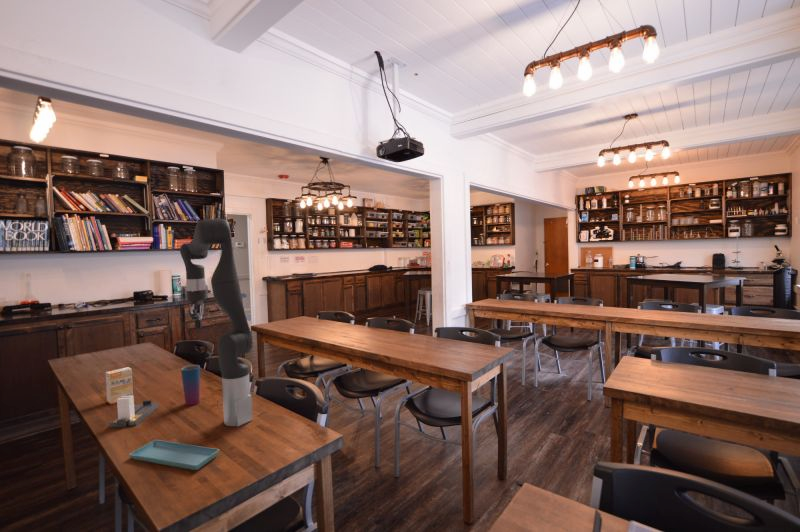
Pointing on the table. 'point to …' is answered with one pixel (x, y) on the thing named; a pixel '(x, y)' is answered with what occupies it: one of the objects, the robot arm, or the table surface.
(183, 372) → the cup
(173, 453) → the rectangular tray
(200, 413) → the table surface
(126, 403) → the fader knob
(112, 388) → the supplement box
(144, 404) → the console
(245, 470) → the table surface
